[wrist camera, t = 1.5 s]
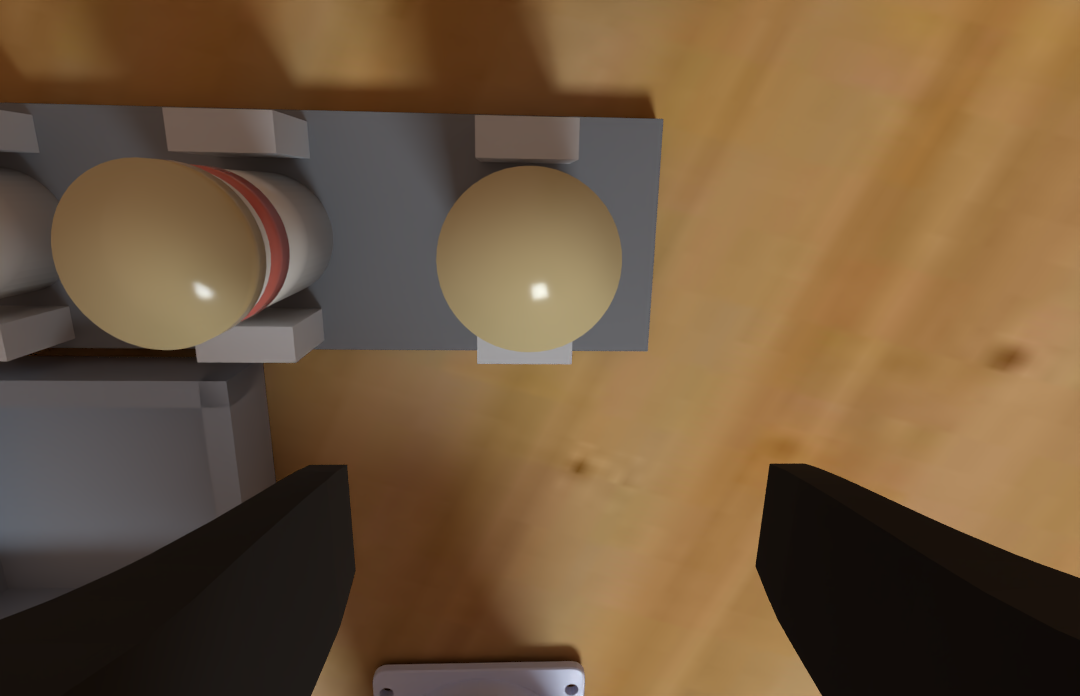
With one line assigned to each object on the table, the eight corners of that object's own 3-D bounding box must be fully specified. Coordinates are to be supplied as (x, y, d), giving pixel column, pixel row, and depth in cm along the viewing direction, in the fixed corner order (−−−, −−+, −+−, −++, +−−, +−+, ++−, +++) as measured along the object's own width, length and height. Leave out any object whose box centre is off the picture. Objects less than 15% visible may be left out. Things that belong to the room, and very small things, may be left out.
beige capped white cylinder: (584, 301, 18) (617, 352, 13) (462, 300, 18) (438, 351, 12) (589, 174, 17) (627, 167, 12) (460, 172, 17) (433, 163, 11)
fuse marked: (341, 299, 18) (259, 350, 12) (214, 297, 18) (70, 349, 12) (331, 169, 17) (238, 159, 11) (197, 167, 17) (32, 154, 11)
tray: (287, 593, 22) (259, 644, 19) (3, 597, 21) (-63, 650, 19) (262, 357, 19) (226, 381, 17) (-59, 355, 19) (-143, 380, 16)
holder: (642, 345, 20) (667, 375, 16) (-79, 340, 19) (-202, 371, 15) (656, 122, 18) (687, 107, 15) (-142, 102, 17) (-295, 81, 14)
